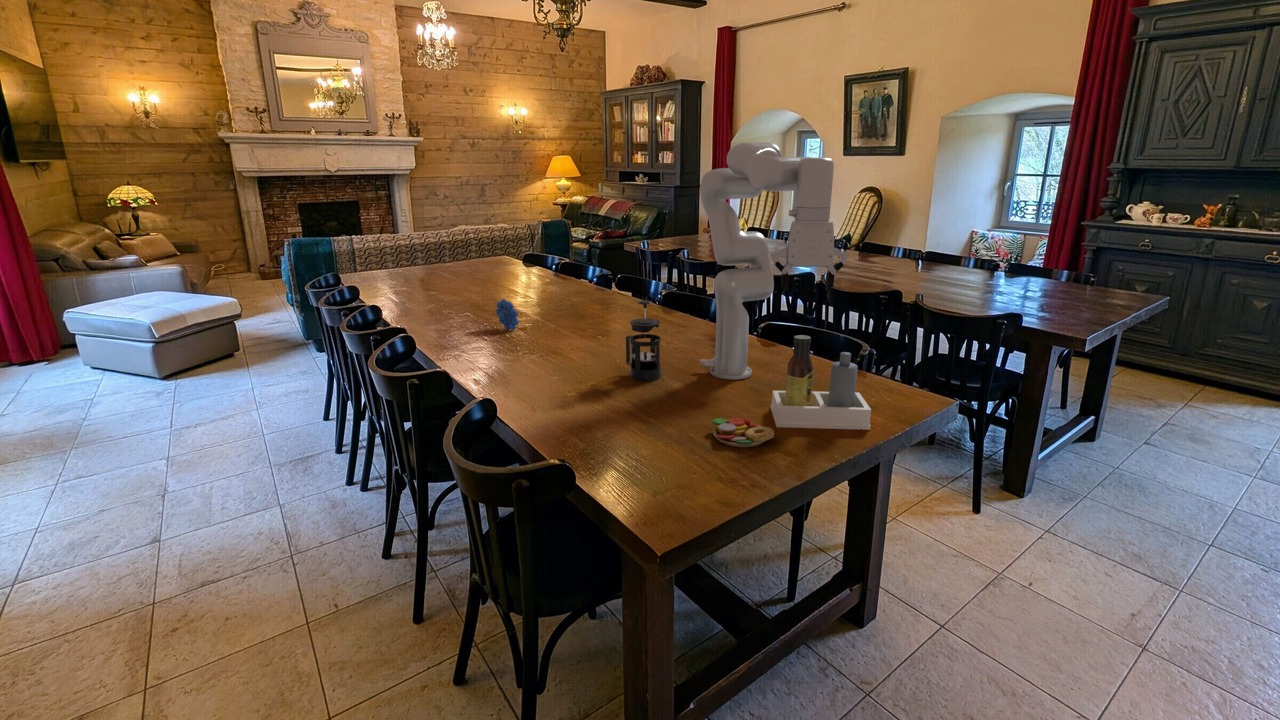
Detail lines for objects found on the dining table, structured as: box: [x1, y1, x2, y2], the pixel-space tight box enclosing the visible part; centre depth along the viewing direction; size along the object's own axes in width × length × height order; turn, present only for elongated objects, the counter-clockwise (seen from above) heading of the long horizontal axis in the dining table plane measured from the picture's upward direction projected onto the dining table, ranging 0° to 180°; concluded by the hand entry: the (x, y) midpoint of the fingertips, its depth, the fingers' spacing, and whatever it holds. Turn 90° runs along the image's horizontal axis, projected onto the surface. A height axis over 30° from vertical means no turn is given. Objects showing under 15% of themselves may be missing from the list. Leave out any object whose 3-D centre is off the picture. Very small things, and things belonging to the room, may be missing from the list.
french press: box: [625, 300, 662, 382], centre depth 179 cm, size 12×9×23 cm
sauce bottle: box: [785, 334, 815, 406], centre depth 148 cm, size 6×6×20 cm
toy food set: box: [712, 417, 775, 448], centre depth 141 cm, size 13×13×3 cm
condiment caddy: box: [770, 351, 872, 431], centre depth 148 cm, size 22×12×17 cm, turn 85°
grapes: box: [495, 298, 520, 331], centre depth 233 cm, size 12×7×12 cm, turn 53°
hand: (806, 290), depth 142 cm, fingers open, 9 cm apart
